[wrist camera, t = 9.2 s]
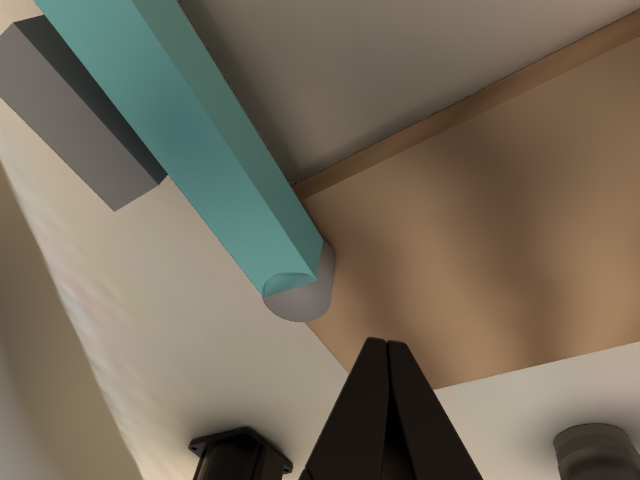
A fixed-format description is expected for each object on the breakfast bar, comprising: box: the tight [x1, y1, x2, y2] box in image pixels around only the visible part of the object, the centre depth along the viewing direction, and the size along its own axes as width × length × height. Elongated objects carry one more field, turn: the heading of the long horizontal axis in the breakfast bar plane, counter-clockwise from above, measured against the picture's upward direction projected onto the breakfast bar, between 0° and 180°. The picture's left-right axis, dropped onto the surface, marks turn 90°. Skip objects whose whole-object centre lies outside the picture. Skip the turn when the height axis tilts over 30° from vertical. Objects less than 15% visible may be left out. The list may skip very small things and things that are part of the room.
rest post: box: [0, 15, 168, 212], centre depth 16 cm, size 2×6×4 cm, turn 32°
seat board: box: [291, 10, 640, 390], centre depth 19 cm, size 20×14×2 cm
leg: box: [34, 0, 336, 322], centre depth 15 cm, size 16×3×2 cm, turn 28°
